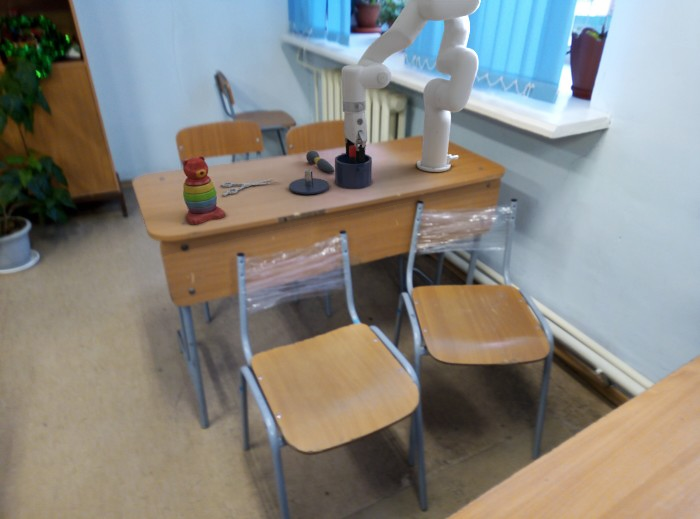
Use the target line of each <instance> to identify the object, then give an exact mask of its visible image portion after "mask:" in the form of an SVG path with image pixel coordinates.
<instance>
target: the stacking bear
mask: <svg viewBox="0 0 700 519" xmlns="http://www.w3.org/2000/svg"><path fill="white" fill-rule="evenodd" d="M182 169H183V173H184V175H185V176H186V179H185V180H184V183H183V184H182V185H183V186H182V187H183V189H182V190H183V191H182V196H183V200H184V204H185V205H186V207H187V210H188V211H187V213H186V220H187V222H188V223H189V224H191V225H200V224H203V223H204V222H206V221H210V220H220V219H223V218H224V217H226V212H225V211H224V209H222V208H221V207H219V206H217V204H218V203H217V202H218V201H217V200H218V199H217V198H218V196H217V194H218V193H217V189H216V187H215V185H214V182H213V181H212V178H211V177H210V176H209V175H208V174H209V165H208V164H207V162H206V161H205V157H204V156H202V155H201V156H198V157H189V158H187V159H184V160H183V161H182Z"/></svg>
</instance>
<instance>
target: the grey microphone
mask: <svg viewBox="0 0 700 519" xmlns="http://www.w3.org/2000/svg"><path fill="white" fill-rule="evenodd" d="M305 157H306V162H308V163H309V164H311V165H316V166H317V167H318V169H320V170H322V171H324V172H327V173H330V174H333V173H335V167H333V165H332V164H331V163H330V162H329V161H327V160H326V159H325V158H322V157H320V153H319V152H318V151H316V150H310V151H308V152H307V153H306V156H305Z"/></svg>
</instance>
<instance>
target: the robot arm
mask: <svg viewBox="0 0 700 519" xmlns="http://www.w3.org/2000/svg"><path fill="white" fill-rule="evenodd" d="M481 2H482V1H481V0H408V1H407V3H406V4H405V5H404V7H403V9H402V10H401V11H400V13H399V15H397V18H396V19H395V21H394V22H393V23H392V25H391V26H390V27H389V28H388V29H387V30H386V31H385V32H384V33H382V34H381V35H380V36H379V37H378V38H376V39H375V40H374V41H373V42H372V43H371V44H370V45H369V46H368V47H367V49H366V50H365V51H364V52H363V54H362V56H361V57H360V58H359V60H358V62H357V64H348V65H344V66H343V67H342V68H341V72H340V73H341V97H342V98H341V99H342V100H341V101H342V112H343V113H344V114H343V116H344V117H343V130H344V131H343V132H344V137H345V139H344V142H345V153H346V154H349V146H352V145H355V146H356V149H357V150H356V162H357V163H358V162H364V161H365V154H366V147H367V142H368V125H367V117H366V116H367V115H366V111H367V107H366V106H367V103H366V102H367V99H366V98H367V97H366V94H367V93H366V92H367V91H366V90H368V89H371V90H380V89H384V88H386V87H387V86H388V85H390V82H391V80H392V71H391V70H390V68H389V67H388V66H386V64H383V63H385V61H386V60H387V59H388V58H390V57H391V56H392V55H394V54H396V53H398V52H402V51H403V50H406V49H407V48H409V47H411V46H412V45H413V44H414V42H415V41H416V39H417V38H418V36H419V35H420V33H421V32H422V30H424V28H425V26H426V25H427V23H428V22H429V21H433V22H441V21H443V32H442V37H441V41H440V43H439V44H440V45H439V48H438V52H437V55H436V59H435V68H436V70H437V72H439V73H440V74H442V75H445V76H448V77H450V79H446V78H442V77H435V78H432V79H430V80H429V81H428V82H426V84H425V86H424V88H423V93H422V94H423V106H424V107H423V108H424V117H423V118H424V119H423V131H422V143H421V144H422V146H421V148H422V149H421V159H420V160H418V161H417V162H416V167H417V168H418V169H419V170H421V171H424V172H431V173H440V172H441V173H442V172H446V171H449V170H450V169H451V163H450V162H452V161H453V162H454V161H458V160H459V155H458V154H457V155H456V154H454V155H452V153H450V154H448V153H449V143H450V133H451V124H452V115H451V113H458V112H461V111H462V110H463V109H464V108H465V107H466V105H467V104H468V102H469V101H470V100H469V99H470V97H471V93H472V91H473V87H474V83H475V80H476V77H477V75H478V70H479V57H478V54H477V52H476V51H475V50H473V49H472V48H470V47H467V44H468V41H469V35H470V30H471V28H470V27H471V25H470V19H469V16H470V15H472V14H474V13H475V12H476V11H477V10H478V9H479V7H480V5H481Z"/></svg>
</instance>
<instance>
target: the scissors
mask: <svg viewBox="0 0 700 519" xmlns="http://www.w3.org/2000/svg"><path fill="white" fill-rule="evenodd" d="M270 180H272V178H269V179H265V180H261V181H260V180H259V181H255V182H245V183H239V182H235V183H234V182H231V181H223V182H222V183H221V187H223V188H229V189H227V190H226V192H224V193H222V197H225V196H227V195H233V194H236V193H237V192H238V191H240V190H243V189H244V188H248V187H252V186H257V185H269V182H268V181H270ZM275 183H277V182H276V181H274V182H270V184H275ZM232 186H233V188H232ZM235 186H239V187H236V188H234V187H235ZM230 187H231V188H230Z"/></svg>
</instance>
